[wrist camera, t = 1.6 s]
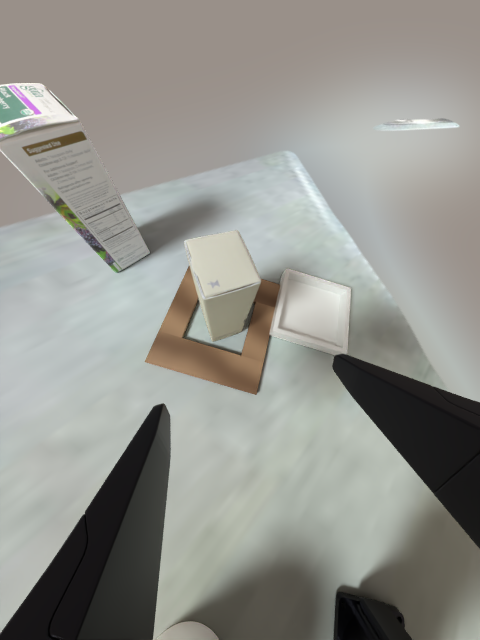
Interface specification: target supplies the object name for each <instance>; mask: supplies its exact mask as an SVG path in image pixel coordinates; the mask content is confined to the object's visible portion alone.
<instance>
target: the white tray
mask: <svg viewBox="0 0 480 640" xmlns="http://www.w3.org/2000/svg"><path fill="white" fill-rule="evenodd" d="M279 285H280V288H279V293H278V297H277V302H276V306H275V310H274V315H273V319H272V324H271V328H270V333H269V334H270V336H273V337H276V338H279V339H283V340H286V341H289V342H293V343H296V344H299V345H302V346H306V347H309V348H312V349H316V350H319V351H322V352H326V353H329V354H332V355H338V354H347V349H348V332H349V314H350V297H351V288H349V287H346V286H343V285H340V284H336V283H333V282H330V281H327V280H324V279H320V278H317V277H314V276H311V275H308V274H304V273H301V272H298V271H295V270H292V269H288V268H286V269H285V271H284V272H283V274H282V276H281V280H280V284H279Z"/></svg>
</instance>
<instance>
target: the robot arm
mask: <svg viewBox="0 0 480 640" xmlns="http://www.w3.org/2000/svg"><path fill="white" fill-rule="evenodd" d="M332 367H333V370H334V372H335V373H336V375H337V376H338V377H339V379H340V380H341V382H342V383H343V385H344V386H345V387H346V389H347V390H348V392H349V393H350V394H351V396H352V397H353V398H354V399H355V401H356V402H357V403H358V404H359V405H360V407H361V408H362V409H363V410H364V411H365V412H366V414H367V415H368V416H369V417H370V418H371V420H372V421H373V422H374V423H375V424H376V426H377V427H378V428H379V429H380V430H381V432H382V433H383V434H384V435H385V436H386V437H387V439H388V440H389V441H390V442H391V443H392V445H393V446H394V447H395V448H396V449H397V451H398V452H399V453H400V454H401V455H402V457H403V458H404V459H405V460H406V461H407V463H408V464H409V465H410V466H411V467H412V468H413V470H414V471H415V472H416V473H417V474H418V476H419V477H420V478H421V479H422V480H423V482H424V483H425V484H426V485H427V486H428V488H429V489H430V490H431V491H432V492H433V493H434V495H435V496H436V497H437V498H438V500H439V501H440V502H441V503H442V504H443V506H444V507H445V508H446V509H447V510H448V512H449V513H450V514H451V515H452V516H453V517H454V519H455V520H456V521H457V522H458V523H459V525H460V526H461V527H462V528H463V529H464V531H465V532H466V533H467V534H468V535H469V537H470V538H471V539H472V540H473V541H474V543H475V544H476V545H477V546H478V547H479V548H480V402H477V401H473V400H470V399H467V398H464V397H461V396H458V395H456V394H452V393H450V392H447V391H444V390H442V389H439V388H436V387H432V386H431V385H428V384H425V383H423V382H420V381H417V380H414V379H412V378H409V377H406V376H403V375H401V374H398V373H395V372H392V371H390V370H387V369H384V368H381V367H379V366H376V365H373V364H370V363H368V362H365V361H362V360H360V359H357V358H354V357H351V356H349V355H346V354H338V355H335V357H334V361H333V365H332ZM170 451H171V448H170V414H169V412H168V410H167V408H166V406H165V404H159V405H156V406H154V407H153V408H152V410H151V411H150V413H149V415H148V416H147V418H146V419H145V421H144V422H143V424H142V425H141V427H140V428H139V430H138V431H137V433H136V434H135V436H134V437H133V439H132V441H131V442H130V444H129V445H128V447H127V448H126V450H125V451H124V453H123V454H122V456H121V457H120V459H119V460H118V462H117V464H116V465H115V467H114V468H113V470H112V471H111V473H110V474H109V476H108V477H107V479H106V480H105V482H104V483H103V485H102V486H101V488H100V490H99V491H98V493H97V494H96V496H95V497H94V499H93V500H92V502H91V503H90V505H89V506H88V508H87V509H86V511H85V514H84V515H83V516H82V517H81V518H80V520H79V522H78V523H77V525H76V526H75V528H74V529H73V531H72V532H71V534H70V535H69V537H68V538H67V540H66V541H65V543H64V544H63V546H62V547H61V549H60V550H59V552H58V553H57V555H56V556H55V558H54V559H53V560H52V562H51V563H50V565H49V566H48V568H47V569H46V570H45V572H44V573H43V575H42V576H41V578H40V579H39V580H38V582H37V583H36V585H35V586H34V587H33V589H32V590H31V592H30V593H29V594H28V596H27V597H26V599H25V600H24V601H23V603H22V604H21V606H20V607H19V608H18V610H17V611H16V612H15V614H14V615H13V617H12V618H11V619H10V621H9V622H8V624H7V625H6V626H5V628H4V629H3V630H2V632H1V633H0V640H153V632H154V622H155V612H156V601H157V591H158V581H159V571H160V560H161V550H162V540H163V529H164V519H165V509H166V499H167V488H168V478H169V468H170ZM342 601H343V603H342ZM341 603H342V604H341ZM334 640H412V639H411V637H410V636H409V634H408V633H407V632H406V630H405V624H404V617H403V615H402V614H401V613H400V611H399V610H398V609H397V608H396V607H394V606H390V605H387V604H385V603H383V602H379V601H375V600H372V599H368V598H364V597H357V596H354V595H350V594H346V593H343V592H339V593H338V594H337V595H336V606H335V624H334Z"/></svg>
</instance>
